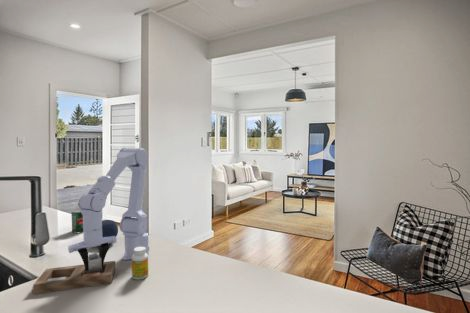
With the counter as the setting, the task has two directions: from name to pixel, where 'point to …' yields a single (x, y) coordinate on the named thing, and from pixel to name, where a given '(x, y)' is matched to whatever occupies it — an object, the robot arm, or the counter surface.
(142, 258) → the supplement bottle
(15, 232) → the counter surface
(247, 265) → the counter surface
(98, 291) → the counter surface
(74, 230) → the canned tomato
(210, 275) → the counter surface
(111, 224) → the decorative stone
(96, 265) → the plug
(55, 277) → the socket board
